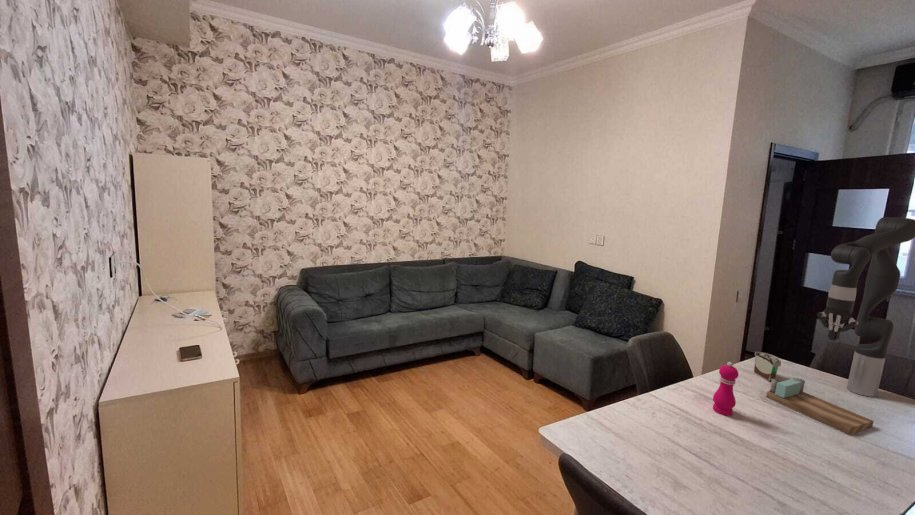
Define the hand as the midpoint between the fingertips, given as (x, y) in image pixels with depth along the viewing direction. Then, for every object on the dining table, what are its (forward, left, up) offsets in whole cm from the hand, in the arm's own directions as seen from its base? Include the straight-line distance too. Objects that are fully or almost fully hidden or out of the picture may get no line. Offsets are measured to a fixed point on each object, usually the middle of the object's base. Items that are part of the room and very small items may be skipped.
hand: (832, 339), depth 156 cm
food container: (-4, -22, -27) cm, 35 cm away
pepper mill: (+46, -8, -27) cm, 54 cm away
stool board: (+10, +4, -27) cm, 29 cm away
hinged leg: (+10, -6, -24) cm, 27 cm away
